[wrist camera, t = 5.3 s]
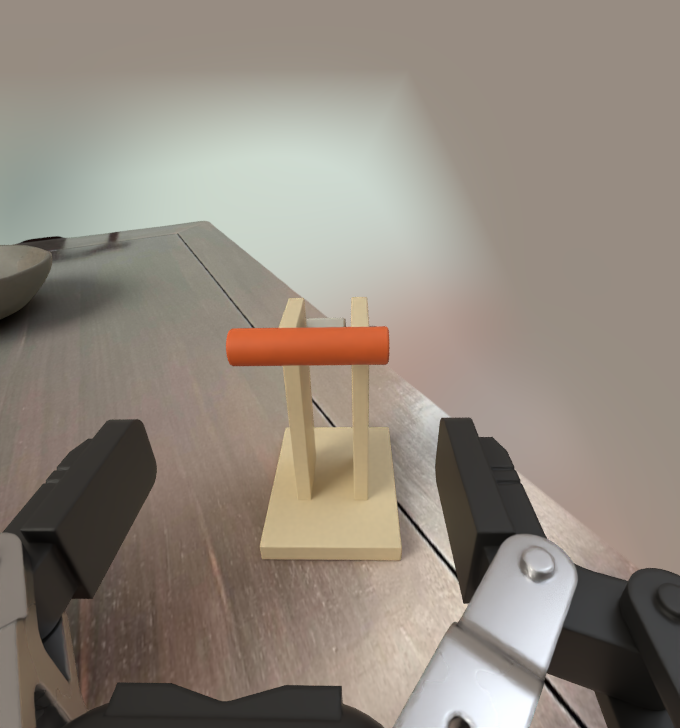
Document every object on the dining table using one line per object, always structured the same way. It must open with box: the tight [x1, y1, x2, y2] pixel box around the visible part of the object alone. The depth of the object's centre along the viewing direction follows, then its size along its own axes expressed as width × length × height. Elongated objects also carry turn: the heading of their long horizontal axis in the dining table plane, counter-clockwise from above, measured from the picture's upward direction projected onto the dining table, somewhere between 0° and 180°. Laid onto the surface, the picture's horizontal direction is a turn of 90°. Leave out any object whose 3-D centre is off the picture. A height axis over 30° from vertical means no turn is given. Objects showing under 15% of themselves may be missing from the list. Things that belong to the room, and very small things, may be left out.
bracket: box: [260, 297, 402, 560], centre depth 29 cm, size 12×9×15 cm
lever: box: [226, 318, 389, 366], centre depth 22 cm, size 12×6×2 cm, turn 178°
